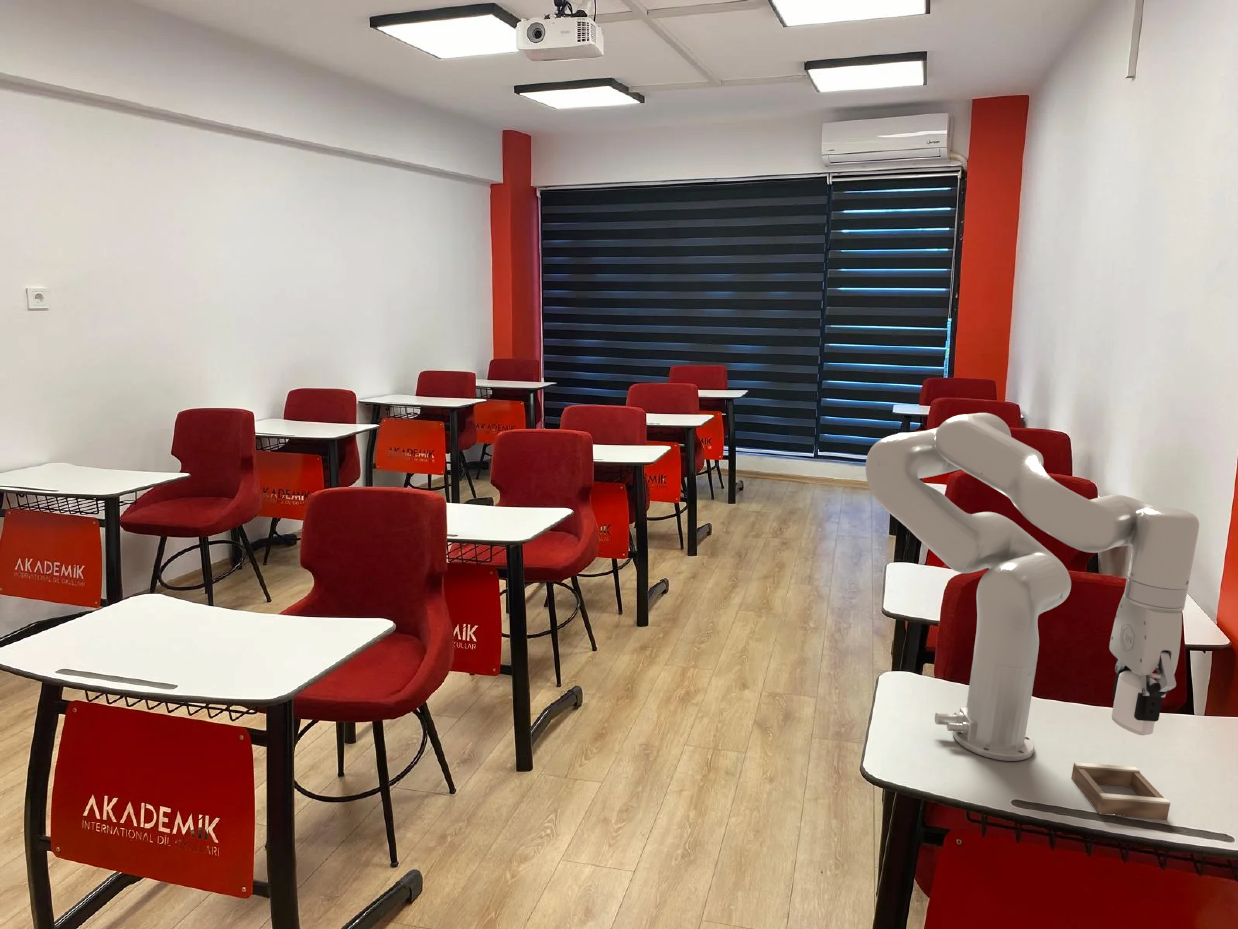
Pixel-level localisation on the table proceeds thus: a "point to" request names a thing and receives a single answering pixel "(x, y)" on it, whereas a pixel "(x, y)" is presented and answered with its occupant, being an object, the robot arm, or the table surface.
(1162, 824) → the table surface
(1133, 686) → the eye dropper bottle
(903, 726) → the table surface
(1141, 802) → the walnut collar
